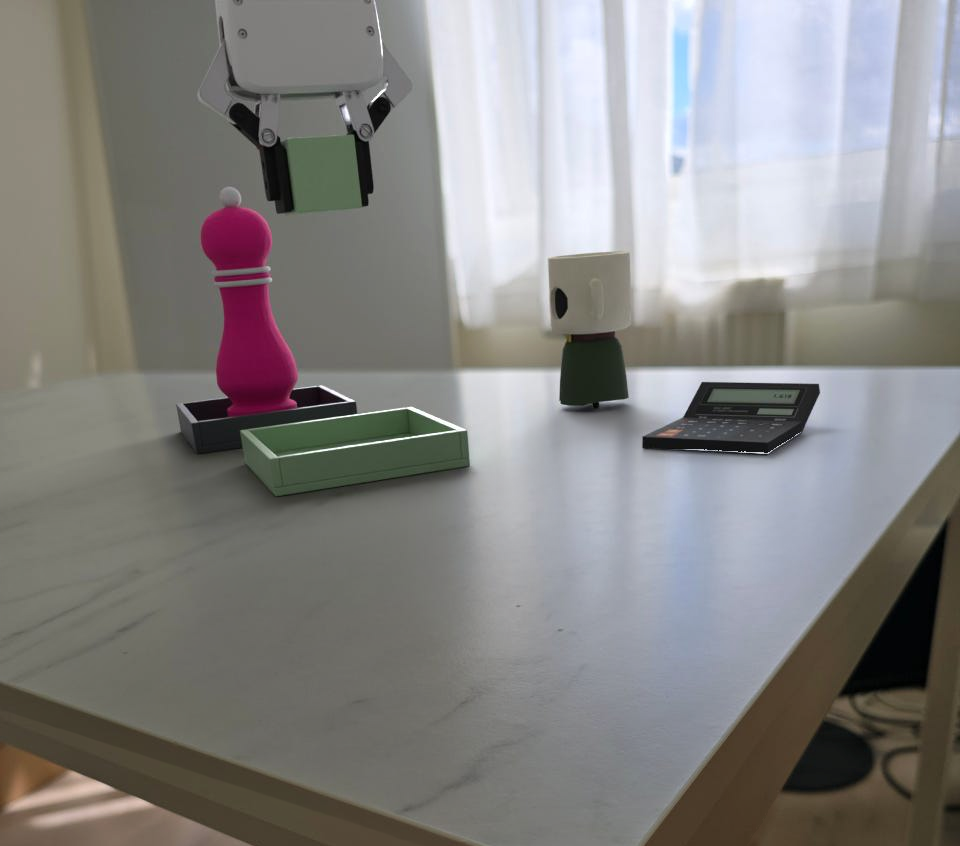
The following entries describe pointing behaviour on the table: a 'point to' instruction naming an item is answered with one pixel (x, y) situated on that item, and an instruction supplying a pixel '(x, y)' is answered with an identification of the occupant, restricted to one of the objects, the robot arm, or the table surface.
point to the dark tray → (254, 417)
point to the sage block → (323, 174)
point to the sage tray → (353, 449)
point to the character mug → (591, 324)
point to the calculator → (739, 417)
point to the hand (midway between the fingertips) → (322, 206)
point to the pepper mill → (247, 311)
